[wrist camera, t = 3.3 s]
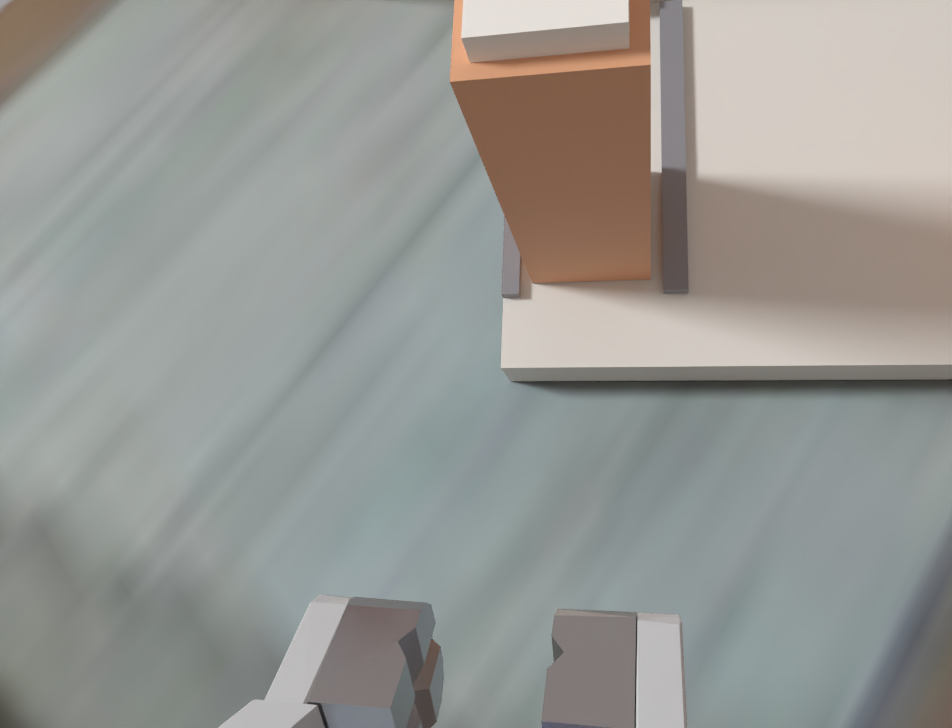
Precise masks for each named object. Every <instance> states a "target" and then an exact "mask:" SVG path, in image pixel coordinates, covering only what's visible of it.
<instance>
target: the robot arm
mask: <svg viewBox="0 0 952 728" xmlns="http://www.w3.org/2000/svg"><path fill="white" fill-rule="evenodd" d="M435 623H436V622H435V618H434V614H433V610H432V606H431V604H428V603H423V602H411V601H399V600H387V599H374V598H362V597H343V596H330V595H318V596H317V597H316V598H315V599H314V600H313V601H312V602H311V603H310V604H309V606H308V608H307V610H306V612H305V614H304V616H303V619H302V621H301V623H300V625H299V627H298V629H297V631H296V634H295V636H294V638H293V640H292V642H291V644H290V646H289V649H288V651H287V653H286V655H285V657H284V659H283V661H282V664H281V666H280V668H279V670H278V672H277V674H276V676H275V679H274V681H273V683H272V685H271V687H270V689H269V691H268V694H267V696H266V698H265V700H255V699H254V700H252V701H251V702H250V703H248V704H247V705H246V706H245V707H243V708H242V709H241V710H240V711H238V712H237V713H236V714H235V715H233V716H232V717H231V718H229V719H228V720H227V721H226V722H224V723H223V724H222V725H221V726H219V727H218V728H431V727H432V726H433V725H434V724H435V723H436V722H437V718H438V714H439V709H440V705H441V700H442V690H443V680H444V672H443V658H442V652H441V647H440V646H439V645H438V644H437V643H436V642H435V641H434V640H433V639H431V638H432V634H433V630H434V627H435ZM552 645H553V656H554V663H553V664H552V665H551V666H550V667H549V668H548V669H547V678H546V687H545V695H544V704H543V713H542V728H687V715H686V695H685V676H684V656H683V636H682V621H681V618H680V615H674V614H654V613H638V617H637V612H620V611H597V610H573V609H557V610H556V613H555V615H554V622H553V629H552Z"/></svg>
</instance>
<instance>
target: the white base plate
mask: <svg viewBox="0 0 952 728" xmlns="http://www.w3.org/2000/svg"><path fill="white" fill-rule="evenodd" d="M650 43H651V280H619V281H585V282H552V283H532V281H531V279H530V276H529V274H528V271H527V269H526V267H525V264H524V262H523V259H522V257H521V254H520V252H519V249H518V247H517V245H516V242H515V240H514V237H513V235H512V232H511V230H510V227H509V225H508V223H507V220H506V218H505V215H504V241H503V267H502V296H503V325H502V352H501V369H502V370H503V371H504V373H505V374H506V376H507V377H508V378H509V380H510V381H695V380H940V379H952V0H650Z"/></svg>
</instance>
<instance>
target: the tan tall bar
mask: <svg viewBox="0 0 952 728" xmlns="http://www.w3.org/2000/svg"><path fill="white" fill-rule="evenodd" d="M450 83H451V86H452V88H453V91H454V93H455V96H456V98H457V100H458V103H459V105H460V108H461V110H462V113H463V115H464V118H465V120H466V122H467V125H468V127H469V130H470V132H471V135H472V137H473V140H474V142H475V144H476V147H477V149H478V152H479V154H480V157H481V159H482V162H483V164H484V166H485V169H486V171H487V174H488V176H489V179H490V181H491V183H492V186H493V188H494V191H495V193H496V196H497V198H498V201H499V203H500V205H501V208H502V210H503V213H504V215H505V218H506V220H507V223H508V225H509V227H510V230H511V232H512V235H513V237H514V240H515V242H516V245H517V247H518V249H519V252H520V254H521V257H522V259H523V262H524V264H525V267H526V269H527V271H528V274H529V276H530V279H531V281H532V283H552V282H585V281H619V280H651V43H650V0H455V3H454V20H453V37H452V54H451V71H450Z"/></svg>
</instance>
